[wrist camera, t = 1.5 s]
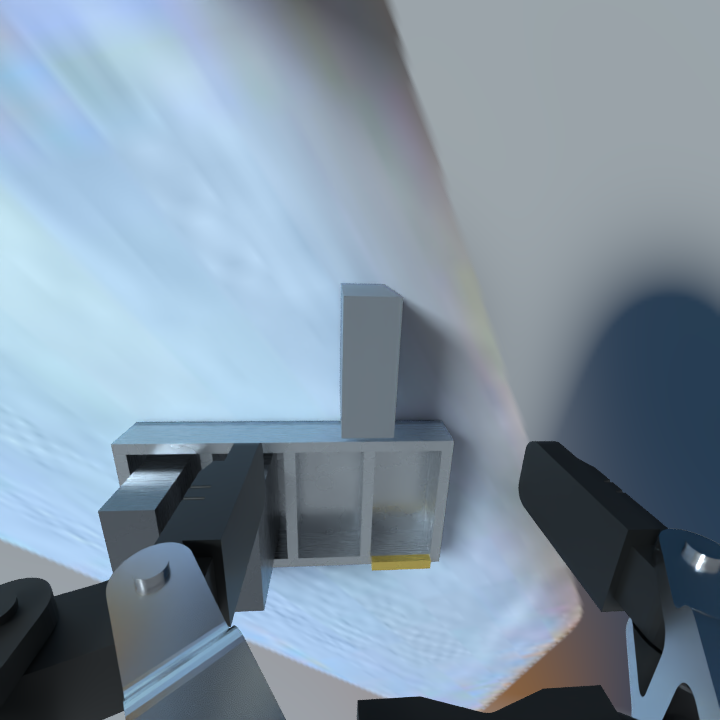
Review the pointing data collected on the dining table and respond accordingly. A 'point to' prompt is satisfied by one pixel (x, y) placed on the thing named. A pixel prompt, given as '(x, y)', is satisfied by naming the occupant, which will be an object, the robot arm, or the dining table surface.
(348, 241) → the dining table surface
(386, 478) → the rack
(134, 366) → the dining table surface
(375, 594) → the dining table surface
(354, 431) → the grey block
